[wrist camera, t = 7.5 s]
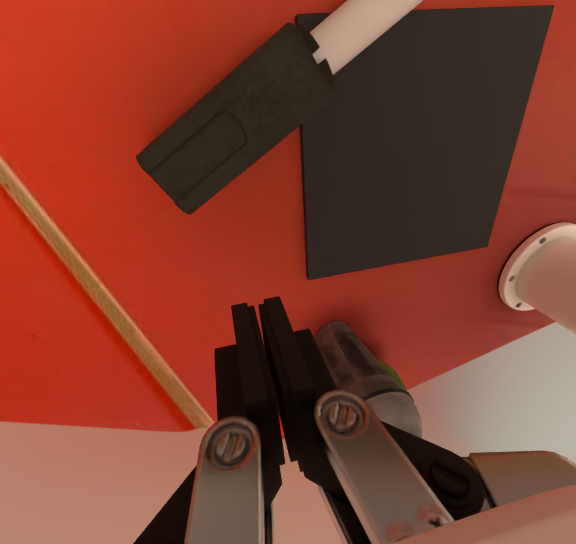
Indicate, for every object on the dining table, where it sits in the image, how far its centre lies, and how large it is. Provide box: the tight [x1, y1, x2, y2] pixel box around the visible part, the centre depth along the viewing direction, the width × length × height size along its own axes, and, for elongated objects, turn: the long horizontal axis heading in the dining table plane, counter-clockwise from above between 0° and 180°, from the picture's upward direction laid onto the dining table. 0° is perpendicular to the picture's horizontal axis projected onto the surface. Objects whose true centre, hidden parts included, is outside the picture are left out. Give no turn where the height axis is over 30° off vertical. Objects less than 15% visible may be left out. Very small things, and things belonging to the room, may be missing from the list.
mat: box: [296, 5, 554, 280], centre depth 29 cm, size 22×22×1 cm
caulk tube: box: [136, 0, 423, 214], centre depth 21 cm, size 5×5×25 cm
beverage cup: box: [316, 321, 422, 438], centre depth 30 cm, size 7×7×20 cm
